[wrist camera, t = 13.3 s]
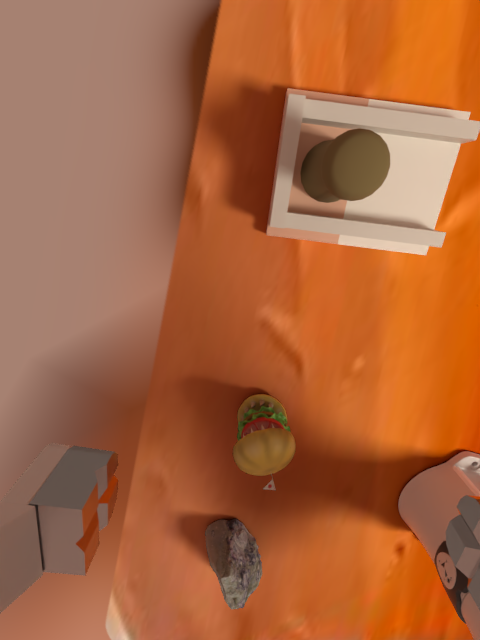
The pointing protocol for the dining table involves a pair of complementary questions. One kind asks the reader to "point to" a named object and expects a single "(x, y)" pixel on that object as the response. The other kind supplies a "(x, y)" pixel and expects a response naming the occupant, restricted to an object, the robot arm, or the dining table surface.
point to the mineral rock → (234, 560)
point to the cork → (346, 167)
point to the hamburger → (263, 437)
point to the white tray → (396, 191)
